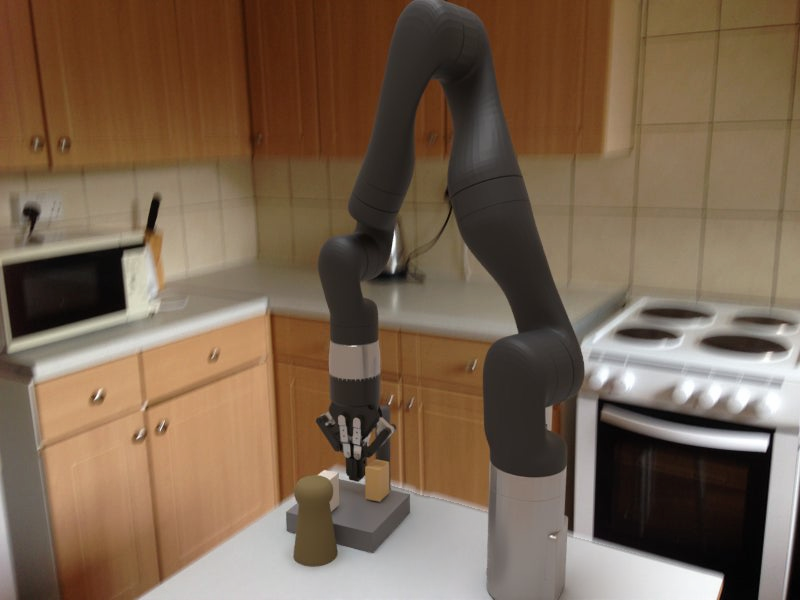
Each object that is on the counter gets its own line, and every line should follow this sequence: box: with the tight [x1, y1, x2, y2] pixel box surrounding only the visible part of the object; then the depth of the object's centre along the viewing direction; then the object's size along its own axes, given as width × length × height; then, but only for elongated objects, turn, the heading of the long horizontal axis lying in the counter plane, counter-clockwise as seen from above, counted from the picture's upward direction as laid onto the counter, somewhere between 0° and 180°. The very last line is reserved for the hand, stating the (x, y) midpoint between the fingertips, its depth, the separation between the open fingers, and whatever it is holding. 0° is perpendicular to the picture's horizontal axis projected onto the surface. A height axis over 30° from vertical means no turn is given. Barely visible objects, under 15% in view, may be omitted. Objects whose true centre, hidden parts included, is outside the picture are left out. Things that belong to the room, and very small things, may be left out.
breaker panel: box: [285, 478, 411, 554], centre depth 108 cm, size 14×12×3 cm
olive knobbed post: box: [292, 474, 338, 567], centre depth 99 cm, size 6×6×11 cm
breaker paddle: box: [364, 458, 389, 502], centre depth 109 cm, size 2×3×5 cm
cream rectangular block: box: [317, 469, 340, 512], centre depth 105 cm, size 2×3×5 cm
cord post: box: [374, 405, 392, 490], centre depth 117 cm, size 2×2×14 cm
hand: (356, 478), depth 111 cm, fingers closed
